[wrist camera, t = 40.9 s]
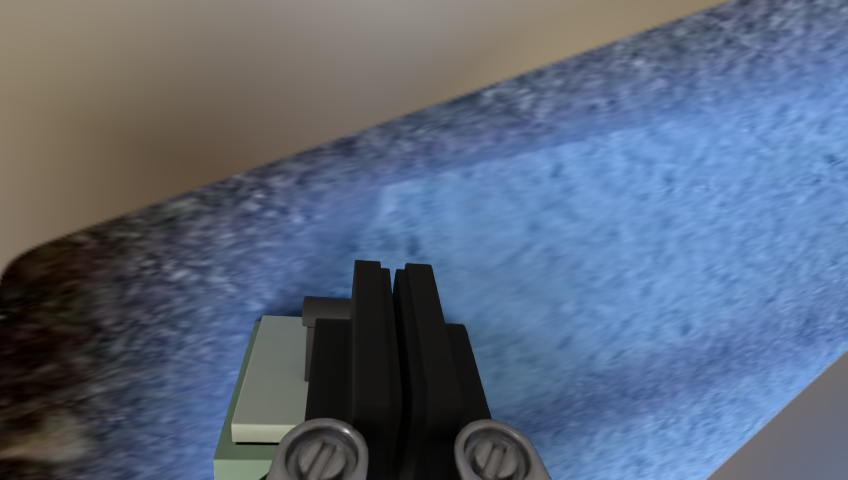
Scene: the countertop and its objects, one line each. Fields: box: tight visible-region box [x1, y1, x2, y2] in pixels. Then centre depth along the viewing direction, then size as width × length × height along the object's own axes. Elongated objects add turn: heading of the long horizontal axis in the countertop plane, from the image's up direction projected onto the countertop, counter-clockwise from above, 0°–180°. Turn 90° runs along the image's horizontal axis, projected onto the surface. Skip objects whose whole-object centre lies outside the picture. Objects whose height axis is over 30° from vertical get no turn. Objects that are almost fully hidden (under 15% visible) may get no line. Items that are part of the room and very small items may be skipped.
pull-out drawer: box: [231, 296, 351, 445], centre depth 28 cm, size 18×11×8 cm, turn 172°
